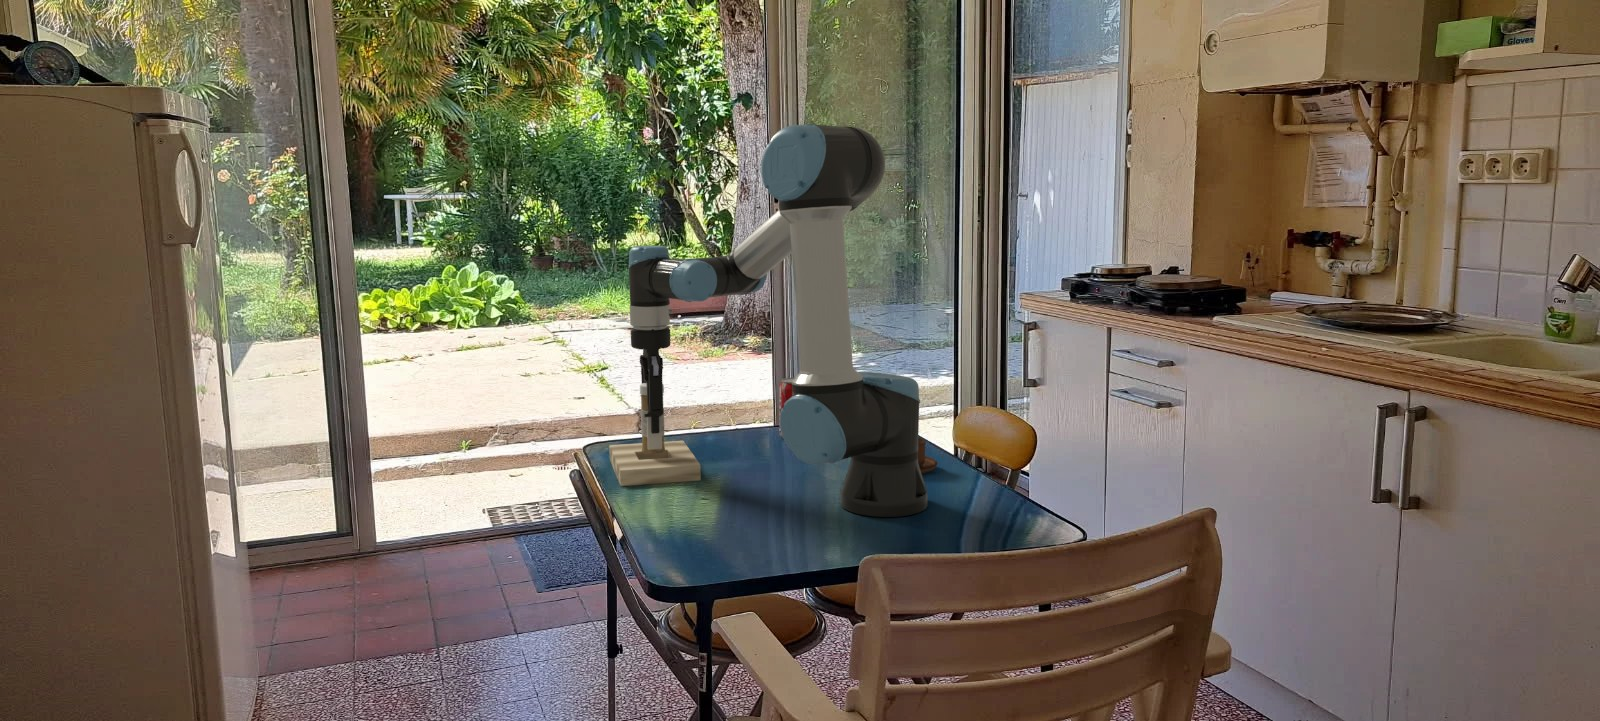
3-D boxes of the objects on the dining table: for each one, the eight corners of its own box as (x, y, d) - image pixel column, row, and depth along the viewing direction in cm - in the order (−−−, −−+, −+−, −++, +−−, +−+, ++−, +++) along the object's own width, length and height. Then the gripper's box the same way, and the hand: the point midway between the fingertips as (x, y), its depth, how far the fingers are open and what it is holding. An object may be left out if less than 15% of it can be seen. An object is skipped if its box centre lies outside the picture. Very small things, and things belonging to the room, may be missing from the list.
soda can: (773, 436, 244) (773, 378, 241) (803, 433, 247) (803, 375, 244) (787, 443, 237) (787, 383, 235) (817, 440, 240) (817, 381, 238)
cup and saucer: (934, 481, 209) (935, 449, 208) (871, 477, 211) (871, 446, 210) (939, 465, 220) (940, 434, 219) (879, 461, 223) (879, 431, 222)
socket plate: (700, 480, 209) (700, 464, 208) (620, 486, 205) (620, 470, 204) (683, 454, 228) (683, 440, 227) (609, 459, 224) (609, 445, 223)
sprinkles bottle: (654, 447, 219) (653, 380, 217) (669, 451, 216) (668, 383, 213) (636, 451, 215) (634, 383, 213) (651, 455, 212) (650, 386, 210)
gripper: (677, 332, 204) (679, 455, 208) (663, 320, 221) (665, 434, 225) (636, 333, 202) (639, 458, 206) (625, 321, 219) (628, 437, 223)
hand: (653, 445), depth 215 cm, fingers closed on sprinkles bottle, 4 cm apart
